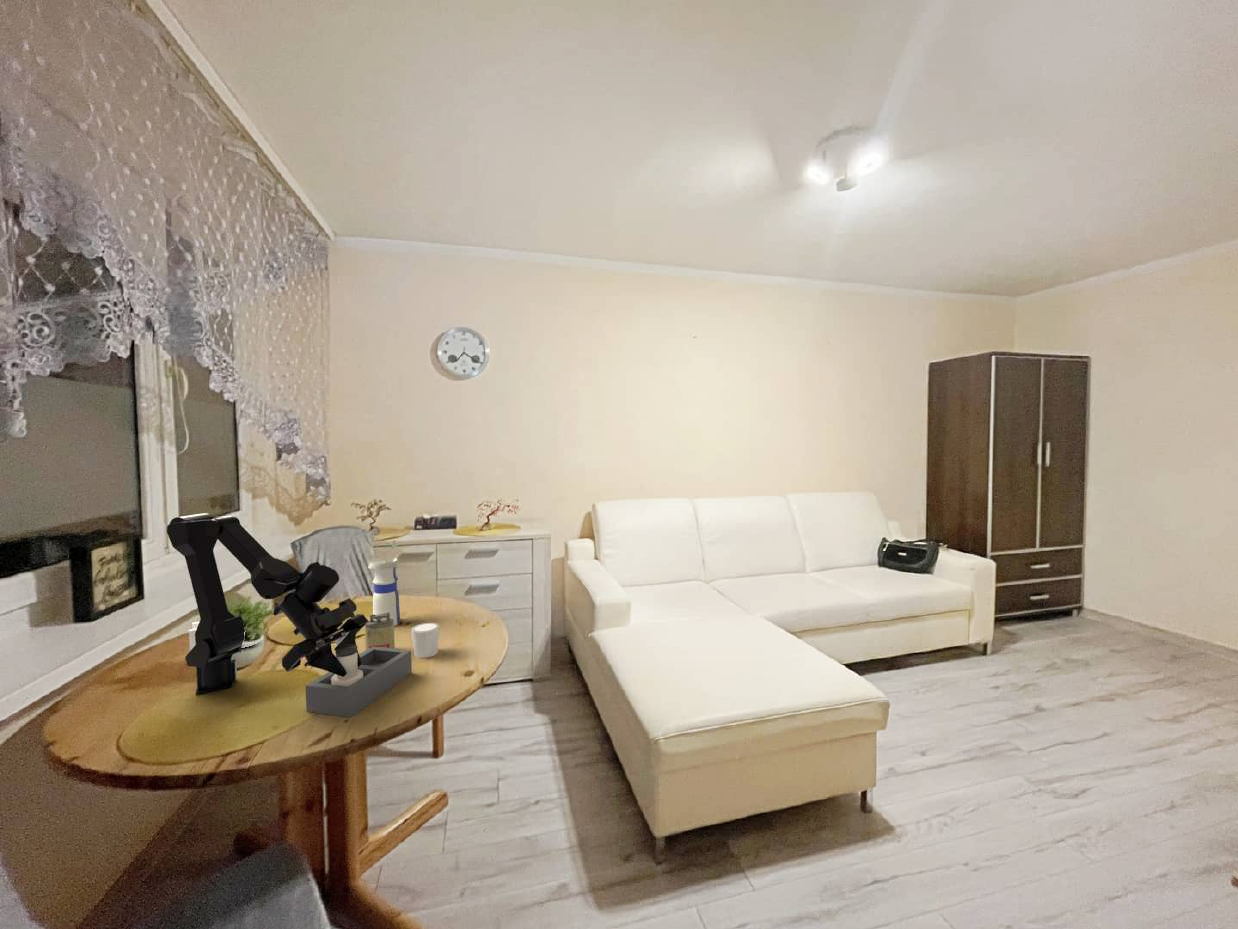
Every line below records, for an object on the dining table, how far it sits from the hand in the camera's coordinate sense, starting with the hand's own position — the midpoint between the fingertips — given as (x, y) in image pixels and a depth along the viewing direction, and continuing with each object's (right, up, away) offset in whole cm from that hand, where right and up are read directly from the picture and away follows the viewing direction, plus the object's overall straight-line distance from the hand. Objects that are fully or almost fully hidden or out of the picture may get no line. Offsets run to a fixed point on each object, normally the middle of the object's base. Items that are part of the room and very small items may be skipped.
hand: (352, 670), depth 106 cm
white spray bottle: (-14, -5, +46) cm, 48 cm away
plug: (-1, -4, +1) cm, 4 cm away
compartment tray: (0, -7, +5) cm, 8 cm away
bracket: (-50, -6, +28) cm, 57 cm away
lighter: (-6, -6, +26) cm, 27 cm away
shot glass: (+6, -6, +24) cm, 26 cm away
